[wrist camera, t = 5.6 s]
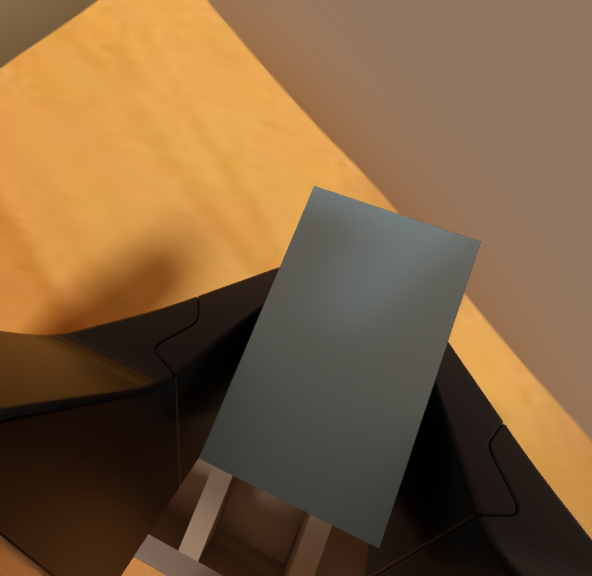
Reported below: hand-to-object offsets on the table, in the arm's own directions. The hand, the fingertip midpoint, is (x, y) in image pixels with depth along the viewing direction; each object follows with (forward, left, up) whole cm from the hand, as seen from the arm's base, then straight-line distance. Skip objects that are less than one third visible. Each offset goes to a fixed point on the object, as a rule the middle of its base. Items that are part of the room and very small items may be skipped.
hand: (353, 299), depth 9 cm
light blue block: (-1, +1, -7) cm, 7 cm away
